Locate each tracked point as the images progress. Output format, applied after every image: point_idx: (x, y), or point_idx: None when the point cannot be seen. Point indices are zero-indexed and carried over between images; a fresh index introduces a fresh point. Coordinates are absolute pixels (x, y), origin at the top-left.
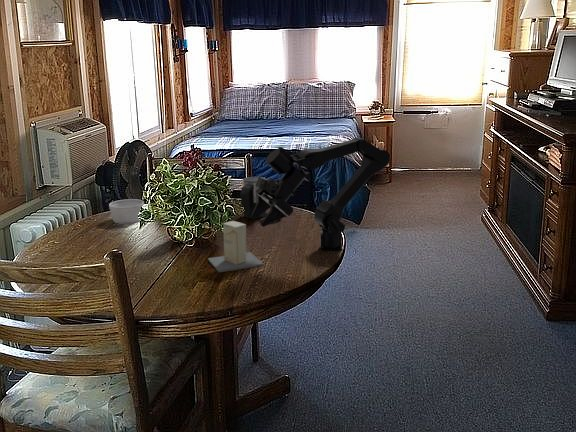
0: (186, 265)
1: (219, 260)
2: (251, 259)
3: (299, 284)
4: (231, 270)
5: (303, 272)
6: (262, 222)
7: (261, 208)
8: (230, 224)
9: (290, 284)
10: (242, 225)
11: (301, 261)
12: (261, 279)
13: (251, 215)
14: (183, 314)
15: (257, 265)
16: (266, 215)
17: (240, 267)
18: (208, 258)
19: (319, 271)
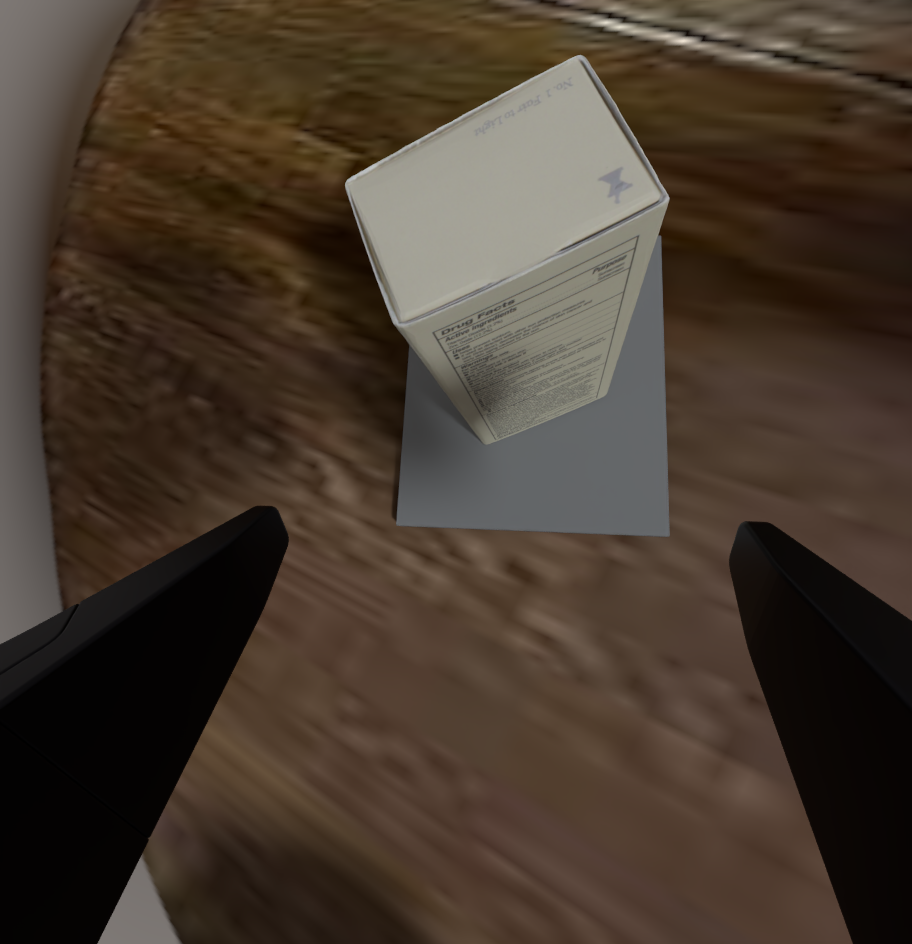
0: None
1: None
2: (504, 487)
3: (74, 586)
4: None
5: None
6: (233, 523)
7: (896, 867)
8: (485, 135)
9: (98, 545)
10: (382, 275)
11: (342, 797)
12: (223, 439)
13: (780, 536)
14: (105, 80)
15: (401, 489)
16: (124, 606)
17: (407, 380)
18: (657, 238)
19: None
